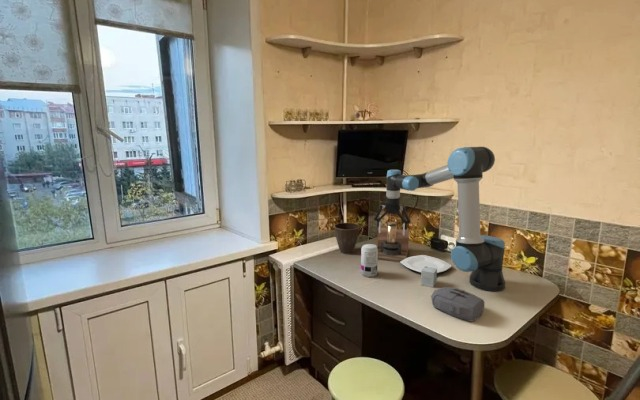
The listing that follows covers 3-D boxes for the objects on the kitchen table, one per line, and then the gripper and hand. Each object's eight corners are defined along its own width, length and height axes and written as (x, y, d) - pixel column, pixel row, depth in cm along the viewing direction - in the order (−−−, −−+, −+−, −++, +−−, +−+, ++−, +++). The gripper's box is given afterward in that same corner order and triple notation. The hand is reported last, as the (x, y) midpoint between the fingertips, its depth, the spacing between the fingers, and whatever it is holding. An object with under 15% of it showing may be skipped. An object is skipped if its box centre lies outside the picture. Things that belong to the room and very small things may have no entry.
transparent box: (405, 262, 188) (406, 239, 186) (372, 258, 194) (373, 236, 191) (408, 251, 205) (409, 230, 202) (378, 248, 211) (378, 227, 208)
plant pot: (345, 245, 216) (345, 221, 213) (364, 251, 206) (364, 225, 203) (329, 251, 206) (329, 226, 203) (348, 258, 196) (348, 231, 193)
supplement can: (357, 274, 174) (358, 246, 171) (367, 269, 180) (367, 242, 177) (370, 279, 168) (371, 250, 165) (380, 273, 174) (381, 245, 171)
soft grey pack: (487, 312, 138) (441, 295, 152) (489, 293, 136) (442, 277, 150) (471, 327, 128) (423, 307, 142) (473, 306, 126) (424, 288, 140)
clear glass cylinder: (395, 254, 196) (396, 224, 192) (385, 253, 198) (386, 223, 194) (396, 251, 201) (397, 222, 197) (387, 250, 203) (387, 221, 199)
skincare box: (433, 287, 159) (434, 272, 157) (420, 284, 162) (421, 270, 161) (436, 282, 164) (437, 268, 162) (423, 280, 167) (424, 265, 166)
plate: (457, 269, 179) (458, 266, 178) (427, 280, 167) (427, 276, 166) (423, 256, 198) (423, 252, 197) (393, 264, 186) (394, 261, 185)
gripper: (416, 197, 192) (414, 233, 196) (372, 194, 200) (371, 229, 204) (415, 199, 185) (413, 237, 189) (369, 197, 193) (368, 233, 197)
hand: (391, 233), depth 197 cm, fingers open, 13 cm apart
